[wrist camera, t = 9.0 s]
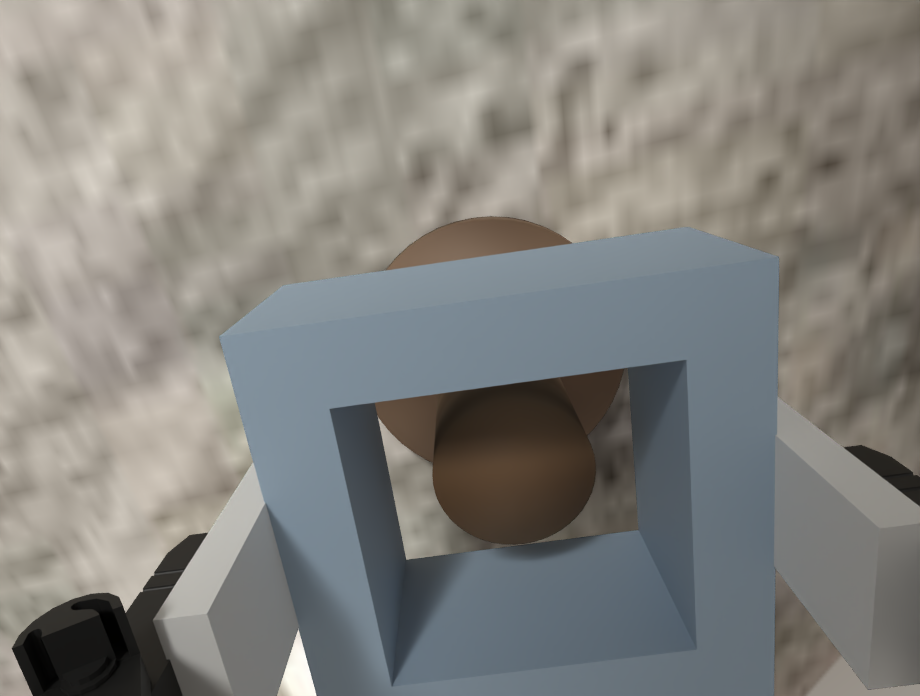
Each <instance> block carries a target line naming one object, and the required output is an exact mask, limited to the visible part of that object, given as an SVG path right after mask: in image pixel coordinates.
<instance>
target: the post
mask: <svg viewBox="0 0 920 696" xmlns="http://www.w3.org/2000/svg"><path fill="white" fill-rule="evenodd" d="M565 244H572V243H571V242H570V241H568V240H567V239H565V238H564V237H562V236H561V235H559V234H558V233H556V232H554V231H552V230H550V229H548V228H546V227H543V226H541V225H538V224H535V223H532V222H529V221H525V220H520V219H515V218H510V217H493V216H490V217H477V218H470V219H465V220H461V221H456V222H453V223H450V224H448V225H445V226H442V227H439V228H437V229H435V230H433V231H431V232H429V233H428V234H426V235H424V236H422V237H421V238H419V239H418V240H416V241H415V242H414V243H412V244H411V245H409V246H408V247H407V248H406V249H405V250H404V251H403V252H402V253H400V254H399V255H398V256H397V257H396V258H395V259H394V261H393V262H392V263H391V264H390V265H389V267H388V268H387V269H386V270H393V269H400V268H406V267H413V266H420V265H427V264H434V263H441V262H448V261H455V260H462V259H469V258H476V257H483V256H489V255H496V254H503V253H510V252H517V251H524V250H531V249H538V248H545V247H552V246H559V245H565ZM386 270H385V271H386ZM623 371H624V368H622V369H615V370H608V371H600V372H593V373H586V374H579V375H571V376H564V377H557V378H549V379H542V380H535V381H528V382H520V383H513V384H506V385H499V386H491V387H484V388H477V389H470V390H462V391H455V392H448V393H440V394H433V395H426V396H419V397H411V398H404V399H397V400H390V401H382V402H375V406H376V411H377V415H378V417H379V419H380V420H381V421H382V423H383V424H384V425H385V426H386V428H387V429H388V430H389V431H390V432H391V433H392V434H393V435H394V436H395V437H396V438H397V439H398V440H399V441H400V442H401V443H402V444H403V445H405V446H406V447H407V448H409V449H410V450H411V451H413V452H414V453H416V454H417V455H419V456H421V457H423V458H424V459H426V460H428V461H430V462H433V475H432V476H433V486H434V490H435V494H436V496H437V499H438V501H439V503H440V505H441V507H442V508H443V510H444V512H445V513H446V514H447V515H448V517H449V518H450V519H451V520H452V521H453V522H454V523H455V524H456V525H457V526H459V527H460V528H461V529H463V530H464V531H465V532H467V533H469V534H471V535H473V536H475V537H477V538H480V539H482V540H485V541H489V542H493V543H499V544H525V543H530V542H535V541H538V540H541V539H544V538H546V537H549V536H551V535H553V534H555V533H557V532H558V531H560V530H562V529H563V528H564V527H566V526H567V525H568V524H570V523H571V522H572V521H573V520H574V519H575V518H576V517H577V516H578V515H579V513H580V512H581V511H582V510H583V508H584V506H585V505H586V503H587V502H588V500H589V497H590V495H591V493H592V490H593V486H594V482H595V475H596V463H595V457H594V453H593V449H592V446H591V444H590V442H589V439H588V437H587V435H588V434H589V433H590V432H591V431H592V430H593V429H594V428H595V427H596V425H597V424H598V423H599V421H600V420H601V419H602V418H603V416H604V415H605V413H606V412H607V410H608V408H609V407H610V405H611V403H612V402H613V399H614V397H615V395H616V392H617V390H618V388H619V385H620V381H621V378H622V374H623Z"/></svg>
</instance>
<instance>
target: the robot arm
mask: <svg viewBox="0 0 920 696" xmlns="http://www.w3.org/2000/svg"><path fill="white" fill-rule="evenodd" d="M774 567H775V569H776V570H777V571H778V572H779V574H780V575H781V576H782V578H783V579H784V580H785V582H786V583H787V584H788V586H789V587H790V588H791V590H792V591H793V592H794V593H795V595H796V596H797V597H798V599H799V600H800V601H801V603H802V604H803V605H804V607H805V608H806V609H807V611H808V612H809V613H810V614H811V616H812V617H813V618H814V620H815V621H816V622H817V624H818V625H819V626H820V628H821V629H822V630H823V632H824V633H825V634H826V635H827V637H828V638H829V639H830V641H831V642H832V643H833V645H834V646H835V647H836V649H837V650H838V651H839V653H840V654H841V655H842V656H843V658H844V659H845V660H846V662H847V663H848V664H849V666H850V667H851V668H852V670H853V671H854V672H855V673H856V675H857V676H858V677H859V679H860V680H861V681H862V683H863V684H864V685H865V687H866V688H867V689H868V690H871V689H879V688H887V687H897V686H905V685H914V684H920V477H919V476H917V475H915V476H914V475H913V472H912V471H910V470H909V469H907V468H906V467H905V466H903V465H902V464H900V463H899V462H898V461H896V460H895V459H893V458H892V457H890V456H888V455H885V454H883V453H880V452H877V451H875V450H872V449H870V448H867V447H865V446H862V445H858V446H851V447H842V446H841V445H839V444H838V443H837V442H836V441H834V440H833V439H832V438H830V437H829V436H828V435H826V434H825V433H824V432H823V431H821V430H820V429H819V428H817V427H816V426H815V425H814V424H812V423H811V422H810V421H808V420H807V419H806V418H804V417H803V416H802V415H801V414H799V413H798V412H797V411H795V410H794V409H793V408H792V407H790V406H789V405H788V404H786V403H785V402H784V401H783V400H781V399H780V398H779V397H778V398H777V435H775V507H774ZM298 628H299V624H298V620H297V617H296V613H295V609H294V606H293V602H292V598H291V595H290V591H289V587H288V584H287V580H286V576H285V573H284V569H283V565H282V562H281V558H280V554H279V550H278V547H277V543H276V539H275V536H274V532H273V528H272V525H271V521H270V517H269V514H268V510H267V506H266V503H264V500H263V496H262V492H261V489H260V485H259V481H258V478H257V474H256V470H255V466H254V463H252V465H251V466H250V468H249V470H248V471H247V473H246V474H245V476H244V477H243V479H242V481H241V482H240V484H239V485H238V487H237V488H236V490H235V492H234V493H233V495H232V496H231V498H230V499H229V501H228V503H227V504H226V506H225V507H224V509H223V511H222V512H221V514H220V515H219V517H218V518H217V520H216V522H215V523H214V525H213V526H212V528H211V529H210V531H209V533H202V534H195V535H189V536H188V537H187V538H186V539H185V540H183V541H182V542H181V543H180V544H178V545H177V546H176V547H175V548H173V549H172V550H171V551H170V552H168V553H167V555H166V556H165V558H164V559H163V561H162V562H161V563H160V565H159V566H158V568H157V569H156V571H155V572H154V576H151V578H150V579H149V581H148V582H147V583H146V585H145V586H144V588H143V592H140V593H139V595H138V596H137V598H136V599H135V600H134V602H133V603H132V605H131V606H130V608H129V609H128V610H127V612H126V613H125V611H124V608H123V605H122V603H121V601H120V598H119V597H118V596H115V595H112V594H110V593H96V594H89V595H86V596H82V597H79V598H75V599H72V600H70V601H68V602H66V603H63V604H61V605H59V606H57V607H55V608H53V609H51V610H50V611H48V612H47V613H45V614H44V615H42V616H41V617H39V618H38V619H36V620H35V621H33V622H32V623H31V624H30V625H29V626H28V627H27V628H26V629H25V630H24V631H23V632H22V633H21V634H20V635H19V637H18V638H17V640H16V642H15V644H14V646H13V647H12V650H13V652H14V655H15V657H16V659H17V661H18V664H19V666H20V668H21V670H22V672H23V675H24V677H25V679H26V681H27V683H28V686H29V688H30V690H31V692H32V694H33V696H277V693H278V690H279V687H280V684H281V681H282V678H283V675H284V671H285V668H286V665H287V662H288V659H289V656H290V653H291V650H292V647H293V643H294V640H295V637H296V634H297V631H298Z"/></svg>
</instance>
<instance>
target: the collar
mask: <svg viewBox="0 0 920 696" xmlns="http://www.w3.org/2000/svg"><path fill="white" fill-rule="evenodd" d="M778 313H779V257H778V256H775V255H772V254H769V253H766V252H763V251H760V250H757V249H754V248H751V247H748V246H745V245H742V244H739V243H736V242H733V241H730V240H727V239H723V238H720V237H717V236H714V235H711V234H708V233H705V232H702V231H699V230H696V229H693V228H690V227H683V228H676V229H669V230H662V231H655V232H648V233H642V234H635V235H628V236H621V237H614V238H607V239H600V240H593V241H586V242H579V243H572V244H565V245H559V246H552V247H545V248H538V249H531V250H524V251H517V252H510V253H503V254H496V255H489V256H483V257H476V258H469V259H462V260H455V261H448V262H441V263H434V264H427V265H420V266H413V267H406V268H400V269H393V270H386V271H379V272H372V273H365V274H358V275H351V276H344V277H337V278H330V279H323V280H317V281H310V282H303V283H296V284H289V285H283V286H282V287H280V288H279V289H278V290H277V291H275V292H274V293H273V294H272V295H270V296H269V297H268V298H267V299H266V300H264V301H263V302H262V303H261V304H259V305H258V306H257V307H256V308H254V309H253V310H252V311H251V312H249V313H248V314H247V315H246V316H244V317H243V318H242V319H241V320H239V321H238V322H237V323H236V324H234V325H233V326H232V327H231V328H229V329H228V330H227V331H226V332H224V333H223V334H222V335H221V336H219V338H220V341H221V345H222V349H223V353H224V356H225V360H226V364H227V367H228V371H229V375H230V378H231V382H232V386H233V389H234V393H235V397H236V400H237V404H238V408H239V411H240V415H241V419H242V422H243V426H244V430H245V433H246V437H247V441H248V444H249V448H250V452H251V455H252V459H253V463H254V466H255V470H256V474H257V478H258V481H259V485H260V489H261V492H262V496H263V500H264V503H266V506H267V510H268V514H269V517H270V521H271V525H272V528H273V532H274V536H275V539H276V543H277V547H278V550H279V554H280V558H281V562H282V565H283V569H284V573H285V576H286V580H287V584H288V587H289V591H290V595H291V598H292V602H293V606H294V609H295V613H296V617H297V620H298V624H299V632H300V636H301V639H302V643H303V647H304V650H305V654H306V658H307V661H308V665H309V669H310V672H311V676H312V680H313V683H314V687H315V691H316V694H317V696H774V653H775V567H774V507H775V435H777V398H778ZM622 368H628V376H629V391H630V406H631V422H632V437H633V452H634V467H635V483H636V498H637V513H638V528H639V530H635V531H627V532H619V533H611V534H604V535H596V536H588V537H580V538H573V539H565V540H557V541H549V542H542V543H534V544H526V545H518V546H511V547H503V548H495V549H487V550H479V551H472V552H464V553H456V554H448V555H441V556H433V557H425V558H417V559H410V560H406V556H405V551H404V546H403V541H402V536H401V531H400V526H399V521H398V516H397V511H396V506H395V501H394V496H393V491H392V486H391V481H390V476H389V471H388V466H387V461H386V456H385V451H384V446H383V441H382V436H381V431H380V426H379V421H378V416H377V411H376V406H375V402H382V401H390V400H397V399H404V398H411V397H419V396H426V395H433V394H440V393H448V392H455V391H462V390H470V389H477V388H484V387H491V386H499V385H506V384H513V383H520V382H528V381H535V380H542V379H549V378H557V377H564V376H571V375H579V374H586V373H593V372H600V371H608V370H615V369H622Z"/></svg>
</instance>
